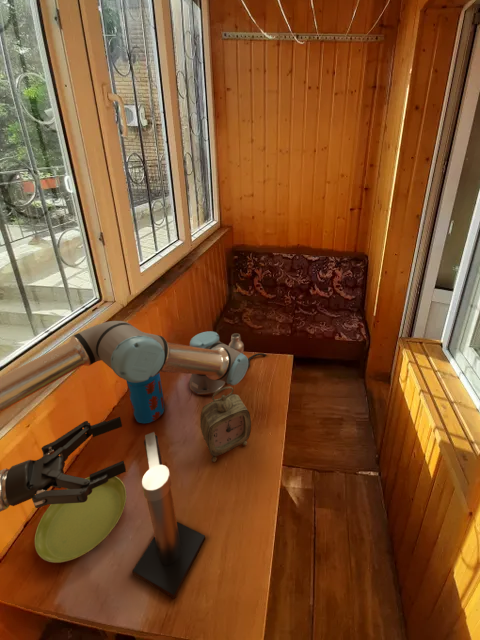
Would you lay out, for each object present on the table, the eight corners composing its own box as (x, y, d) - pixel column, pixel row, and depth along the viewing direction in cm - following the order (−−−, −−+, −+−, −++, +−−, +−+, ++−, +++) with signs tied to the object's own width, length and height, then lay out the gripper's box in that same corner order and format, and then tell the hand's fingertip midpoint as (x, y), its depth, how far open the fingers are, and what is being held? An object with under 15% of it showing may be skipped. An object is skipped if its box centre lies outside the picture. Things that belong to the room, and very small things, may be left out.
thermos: (130, 410, 118) (118, 356, 110) (158, 396, 125) (149, 344, 116) (139, 429, 111) (128, 372, 102) (169, 413, 117) (160, 358, 109)
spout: (182, 546, 74) (171, 482, 66) (157, 560, 71) (142, 495, 64) (170, 479, 88) (159, 420, 81) (148, 489, 86) (136, 429, 78)
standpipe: (174, 599, 70) (160, 529, 61) (133, 574, 73) (114, 506, 65) (205, 539, 80) (197, 472, 72) (167, 520, 84) (155, 455, 76)
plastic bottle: (242, 380, 134) (240, 341, 127) (228, 377, 135) (225, 339, 128) (247, 370, 140) (245, 332, 133) (233, 368, 141) (231, 330, 134)
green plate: (78, 477, 95) (76, 470, 93) (142, 485, 92) (141, 478, 91) (15, 563, 75) (11, 555, 74) (94, 576, 73) (91, 568, 72)
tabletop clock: (210, 468, 98) (204, 407, 89) (201, 446, 105) (194, 387, 96) (251, 446, 105) (249, 387, 96) (240, 426, 112) (237, 370, 104)
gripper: (26, 451, 77) (122, 416, 87) (0, 563, 56) (129, 501, 66) (17, 428, 74) (117, 395, 84) (-13, 537, 54) (123, 476, 64)
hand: (122, 442), depth 75 cm, fingers open, 13 cm apart
